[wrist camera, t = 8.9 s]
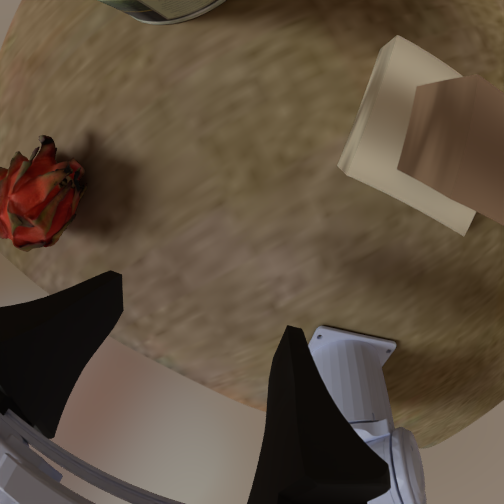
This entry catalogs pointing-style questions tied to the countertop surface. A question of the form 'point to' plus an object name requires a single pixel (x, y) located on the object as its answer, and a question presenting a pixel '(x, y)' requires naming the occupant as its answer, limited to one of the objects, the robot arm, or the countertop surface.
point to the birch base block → (398, 131)
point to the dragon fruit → (38, 197)
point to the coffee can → (163, 9)
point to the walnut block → (459, 143)
